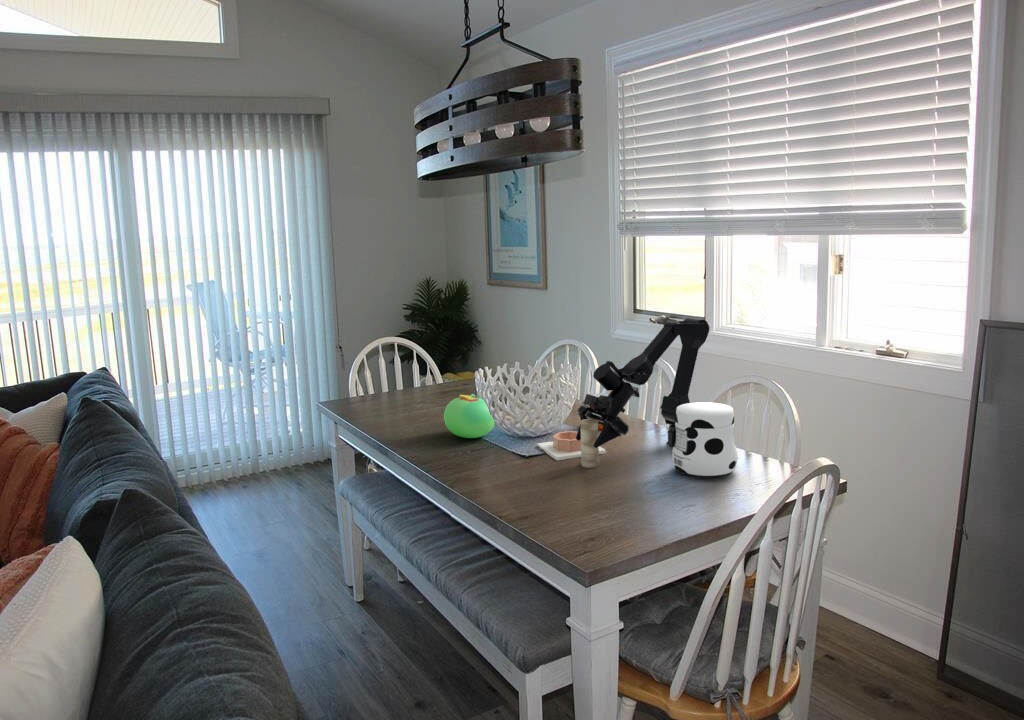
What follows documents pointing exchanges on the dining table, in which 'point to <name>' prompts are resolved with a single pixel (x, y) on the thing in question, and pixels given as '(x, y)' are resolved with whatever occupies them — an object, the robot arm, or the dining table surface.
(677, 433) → the milk container
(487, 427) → the toy bird
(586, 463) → the beech peg
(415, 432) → the dining table surface
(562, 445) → the octagonal ring base
